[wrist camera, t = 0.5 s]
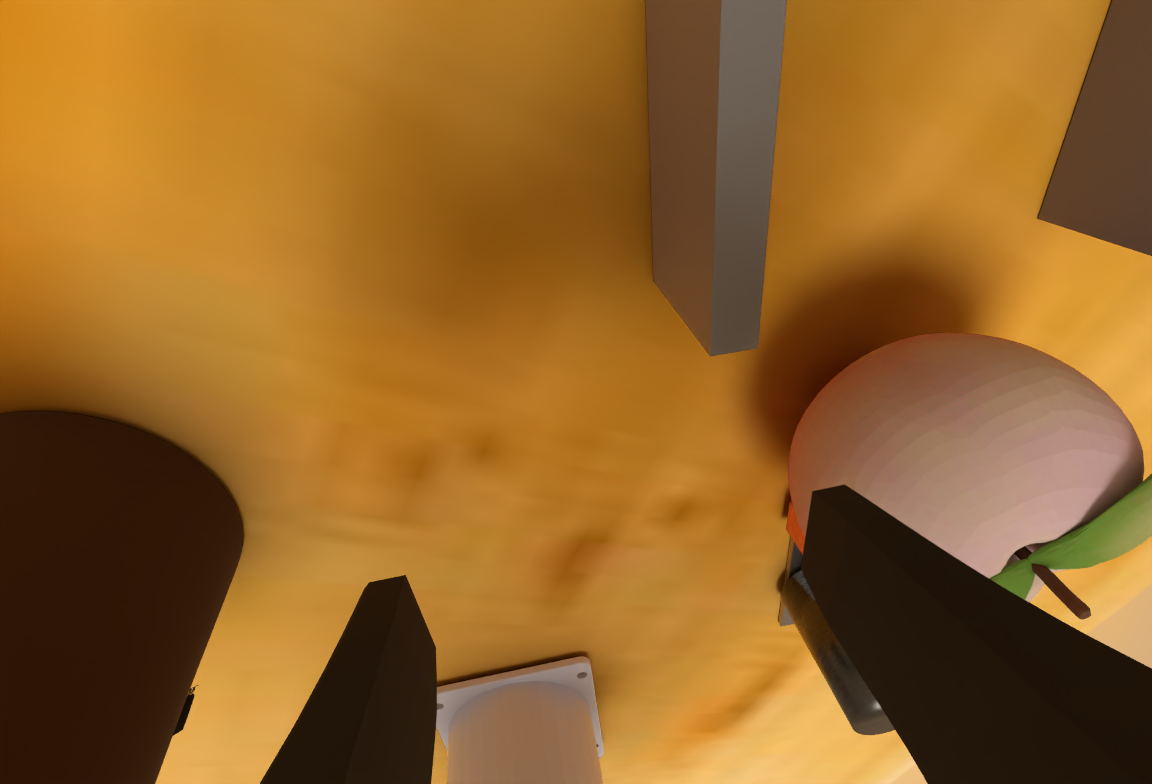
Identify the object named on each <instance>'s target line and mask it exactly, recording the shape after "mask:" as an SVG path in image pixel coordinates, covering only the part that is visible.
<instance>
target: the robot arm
mask: <svg viewBox="0 0 1152 784" xmlns="http://www.w3.org/2000/svg"><path fill="white" fill-rule="evenodd" d="M801 570H802V572H803V574H804V576H805V579H806V581H807V583H808V585H809V587H810V589H811V591H812V594H813V596H814V598H815V600H816V602H817V604H818V606H819V608H820V610H821V612H822V614H823V616H824V618H825V620H826V622H827V623H828V625H829V627H830V628H831V630H832V631H833V633H834V635H835V636H836V638H837V639H838V641H839V643H840V644H841V646H842V647H843V649H844V650H845V652H846V654H847V655H848V657H849V658H850V660H851V662H852V663H853V665H854V666H855V668H856V669H857V671H858V673H859V674H860V676H861V677H862V679H863V680H864V682H865V683H866V685H867V687H868V688H869V690H870V691H871V693H872V694H873V696H874V697H875V699H876V701H877V702H878V704H879V705H880V707H881V708H882V710H883V711H884V713H885V715H886V716H887V718H888V719H889V721H890V722H891V724H892V725H893V727H894V729H895V730H896V732H897V733H898V735H899V736H900V738H901V739H902V741H903V743H904V744H905V746H906V747H907V749H908V751H909V752H910V754H911V756H912V757H913V759H914V761H915V762H916V764H917V766H918V768H919V769H920V771H921V772H922V774H923V775H924V778H925V780H926V782H927V783H928V784H1152V669H1151V668H1149V667H1147V666H1145V665H1144V664H1142V663H1140V662H1138V661H1136V660H1134V659H1132V658H1130V657H1128V656H1126V655H1124V654H1122V653H1120V652H1118V651H1116V650H1115V649H1113V648H1110V647H1109V646H1107V645H1105V644H1103V643H1101V642H1099V641H1097V640H1095V639H1093V638H1091V637H1089V636H1088V635H1086V634H1084V633H1082V632H1080V631H1079V630H1077V629H1075V628H1073V627H1071V626H1069V625H1068V624H1066V623H1064V622H1062V621H1060V620H1059V619H1057V618H1055V617H1053V616H1052V615H1050V614H1048V613H1046V612H1045V611H1043V610H1041V609H1040V608H1038V607H1036V606H1034V605H1033V604H1031V603H1029V602H1028V601H1026V600H1024V599H1022V598H1021V597H1019V596H1017V595H1015V594H1014V593H1012V592H1010V591H1009V590H1007V589H1005V588H1004V587H1002V586H1000V585H999V584H997V583H996V582H994V581H992V580H991V579H989V578H987V577H986V576H984V575H982V574H981V573H979V572H978V571H976V570H974V569H973V568H971V567H970V566H968V565H966V564H965V563H963V562H962V561H960V560H959V559H957V558H956V557H954V556H952V555H951V554H949V553H948V552H946V551H945V550H943V549H942V548H940V547H938V546H937V545H935V544H934V543H932V542H931V541H929V540H928V539H926V538H925V537H923V536H922V535H920V534H919V533H917V532H916V531H914V530H913V529H911V528H910V527H908V526H907V525H905V524H904V523H902V522H901V521H899V520H898V519H896V518H895V517H893V516H892V515H890V514H889V513H887V512H886V511H884V510H883V509H881V508H880V507H878V506H877V505H875V504H874V503H872V502H871V501H869V500H868V499H866V498H865V497H863V496H862V495H860V494H859V493H857V492H856V491H854V490H853V489H851V488H850V487H848V486H846V485H845V484H844V485H840V486H835V487H830V488H825V489H820V490H815V491H812V496H811V503H810V510H809V516H808V523H807V530H806V536H805V543H804V550H803V556H802V563H801ZM436 727H437V730H438V732H439V734H440V736H441V738H442V740H443V743H444V745H445V747H446V749H447V751H448V756H447V784H603V779H602V773H601V768H600V762H599V758H600V757H602V756H603V754H604V748H603V741H602V735H601V728H600V722H599V715H598V709H597V702H596V696H595V689H594V683H593V676H592V670H591V664H590V660H589V658H587V657H584V656H580V657H575V658H570V659H565V660H561V661H556V662H551V663H547V664H542V665H537V666H533V667H528V668H523V669H519V670H514V671H509V672H505V673H500V674H495V675H491V676H486V677H481V678H477V679H472V680H467V681H463V682H458V683H453V684H449V685H444V686H439V687H437V673H436V647H435V644H434V642H433V640H432V637H431V635H430V632H429V630H428V628H427V625H426V623H425V620H424V618H423V616H422V613H421V611H420V608H419V606H418V604H417V601H416V599H415V596H414V594H413V592H412V589H411V587H410V584H409V582H408V580H407V577H406V575H403V576H399V577H394V578H389V579H384V580H379V581H374V582H369V583H368V585H367V586H366V587H365V588H364V591H363V593H362V595H361V597H360V599H359V601H358V603H357V605H356V607H355V609H354V612H353V614H352V616H351V618H350V620H349V622H348V624H347V626H346V628H345V630H344V632H343V634H342V636H341V638H340V640H339V642H338V644H337V646H336V648H335V650H334V652H333V654H332V656H331V658H330V660H329V662H328V664H327V666H326V668H325V669H324V671H323V673H322V675H321V677H320V679H319V681H318V682H317V684H316V686H315V688H314V690H313V692H312V694H311V695H310V697H309V699H308V701H307V703H306V705H305V707H304V708H303V710H302V712H301V714H300V716H299V718H298V719H297V721H296V723H295V725H294V727H293V728H292V730H291V732H290V734H289V735H288V737H287V739H286V740H285V742H284V744H283V745H282V747H281V749H280V750H279V752H278V754H277V755H276V757H275V759H274V761H273V762H272V764H271V766H270V767H269V769H268V771H267V772H266V774H265V776H264V777H263V779H262V781H261V782H260V784H431V777H432V766H433V754H434V742H435V730H436Z"/></svg>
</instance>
